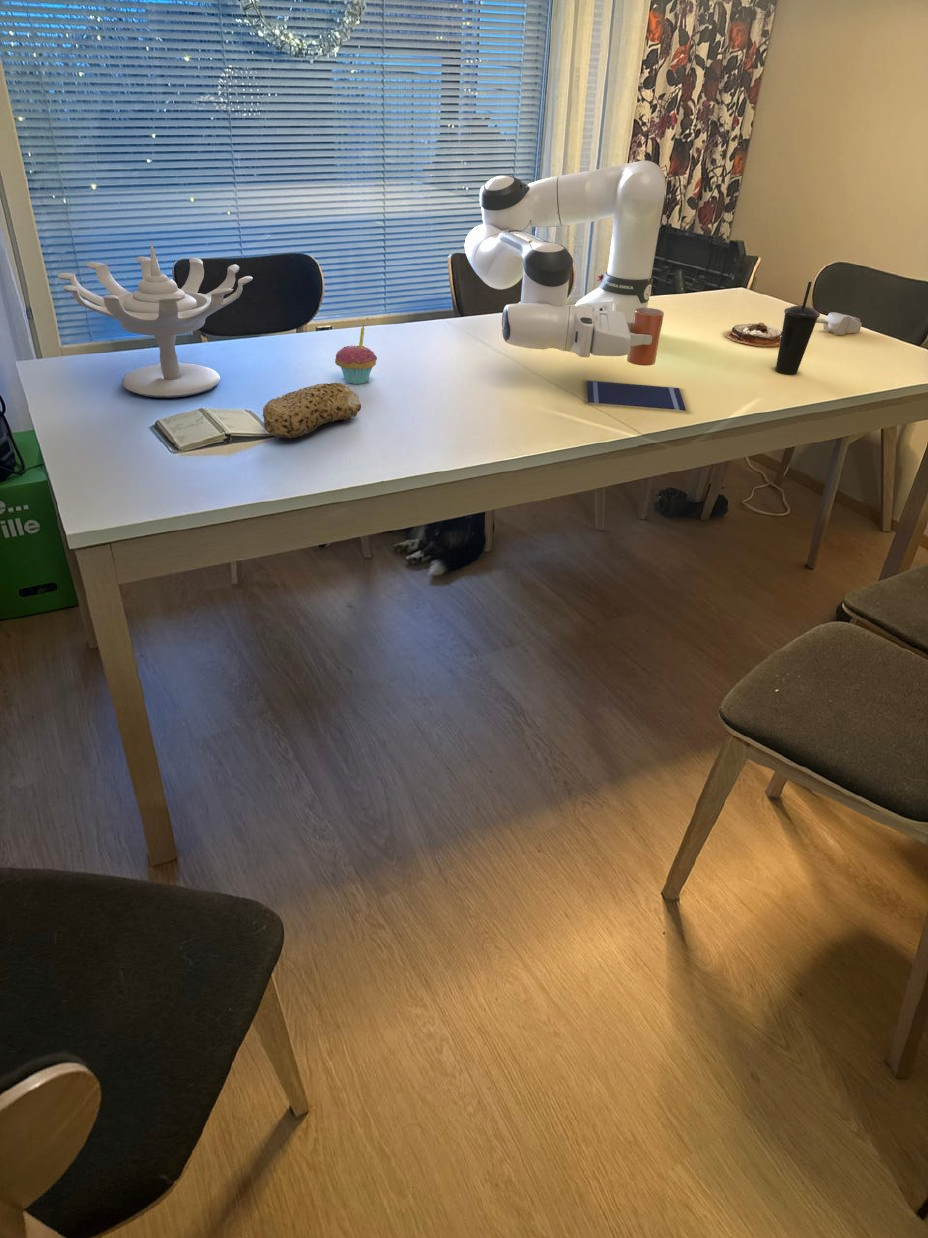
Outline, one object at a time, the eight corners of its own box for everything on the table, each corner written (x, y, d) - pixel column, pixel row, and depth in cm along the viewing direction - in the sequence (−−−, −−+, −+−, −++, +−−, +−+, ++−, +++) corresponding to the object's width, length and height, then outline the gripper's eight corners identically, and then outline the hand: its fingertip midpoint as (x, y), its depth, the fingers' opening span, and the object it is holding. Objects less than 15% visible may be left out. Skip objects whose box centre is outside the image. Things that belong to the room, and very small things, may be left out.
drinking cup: (805, 378, 192) (831, 287, 181) (771, 374, 193) (794, 283, 182) (800, 368, 198) (825, 279, 187) (767, 365, 199) (790, 276, 188)
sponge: (332, 412, 163) (238, 410, 150) (342, 374, 159) (246, 369, 146) (367, 446, 156) (272, 447, 143) (378, 407, 152) (281, 406, 139)
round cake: (715, 331, 222) (718, 315, 220) (764, 329, 226) (768, 314, 223) (744, 347, 210) (748, 330, 208) (796, 346, 214) (800, 329, 212)
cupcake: (383, 377, 178) (382, 320, 171) (366, 389, 171) (365, 330, 165) (346, 371, 180) (344, 314, 174) (328, 383, 174) (326, 324, 167)
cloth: (587, 404, 171) (587, 402, 170) (586, 382, 182) (586, 380, 182) (685, 412, 169) (686, 410, 169) (678, 389, 181) (679, 387, 181)
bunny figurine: (872, 319, 225) (840, 317, 217) (865, 338, 228) (832, 338, 220) (843, 310, 231) (810, 309, 223) (836, 329, 234) (803, 328, 226)
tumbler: (621, 361, 171) (629, 310, 165) (634, 355, 175) (642, 305, 169) (647, 367, 168) (656, 316, 163) (659, 361, 172) (669, 311, 167)
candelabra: (104, 427, 148) (71, 265, 133) (65, 370, 172) (33, 226, 157) (286, 400, 164) (275, 252, 149) (226, 351, 188) (212, 219, 173)
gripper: (578, 331, 180) (642, 336, 179) (580, 359, 163) (652, 365, 162) (581, 300, 176) (647, 305, 175) (585, 326, 159) (657, 332, 158)
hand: (649, 334), depth 169 cm, fingers closed on tumbler, 6 cm apart
